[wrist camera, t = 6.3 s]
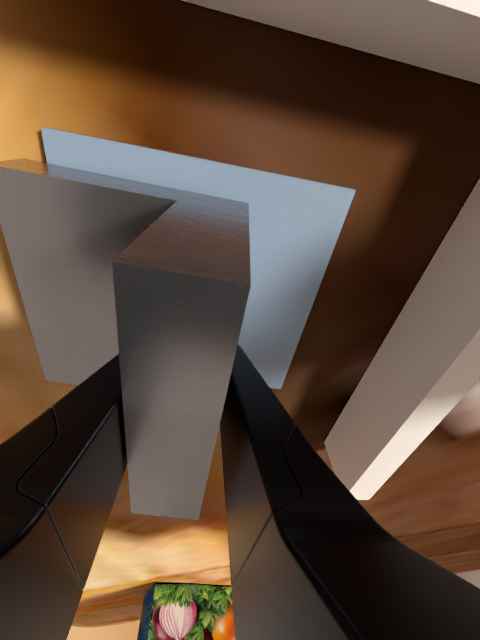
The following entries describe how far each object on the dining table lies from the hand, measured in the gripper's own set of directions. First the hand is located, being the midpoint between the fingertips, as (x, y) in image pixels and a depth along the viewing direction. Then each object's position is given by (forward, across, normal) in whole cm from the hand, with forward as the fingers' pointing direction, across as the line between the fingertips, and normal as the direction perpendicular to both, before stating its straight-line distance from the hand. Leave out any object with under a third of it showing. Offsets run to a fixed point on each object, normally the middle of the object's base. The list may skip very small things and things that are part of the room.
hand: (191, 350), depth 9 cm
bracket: (+3, +2, 0) cm, 4 cm away
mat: (+4, 0, 0) cm, 4 cm away
